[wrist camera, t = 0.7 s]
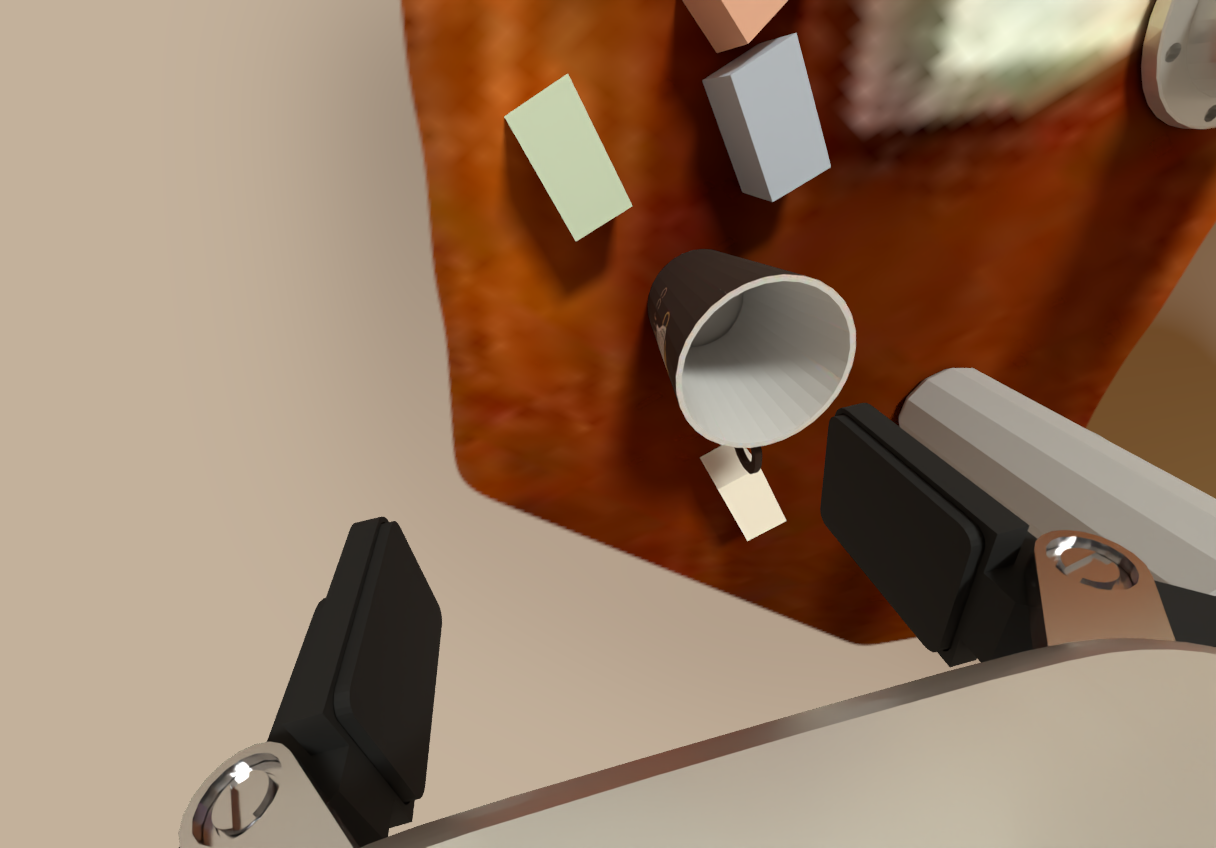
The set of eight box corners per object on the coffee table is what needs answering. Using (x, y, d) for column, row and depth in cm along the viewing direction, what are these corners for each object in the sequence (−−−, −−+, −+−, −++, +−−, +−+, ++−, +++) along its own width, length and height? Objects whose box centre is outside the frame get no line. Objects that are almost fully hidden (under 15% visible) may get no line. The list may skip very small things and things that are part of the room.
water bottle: (885, 456, 41) (1280, 810, 20) (897, 371, 37) (1411, 705, 16) (991, 429, 42) (1485, 747, 21) (1014, 341, 38) (1664, 629, 17)
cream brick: (699, 456, 38) (717, 489, 35) (737, 435, 38) (759, 467, 35) (727, 506, 41) (747, 541, 38) (763, 487, 41) (786, 520, 38)
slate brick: (701, 80, 26) (730, 75, 23) (758, 43, 26) (796, 32, 22) (741, 192, 29) (772, 202, 26) (792, 161, 29) (830, 166, 25)
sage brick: (504, 116, 25) (504, 116, 22) (559, 79, 25) (567, 73, 21) (567, 226, 28) (575, 241, 25) (616, 195, 28) (632, 206, 25)
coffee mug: (653, 212, 29) (715, 253, 20) (785, 247, 31) (890, 297, 23) (601, 394, 34) (633, 486, 26) (717, 412, 36) (781, 502, 28)
